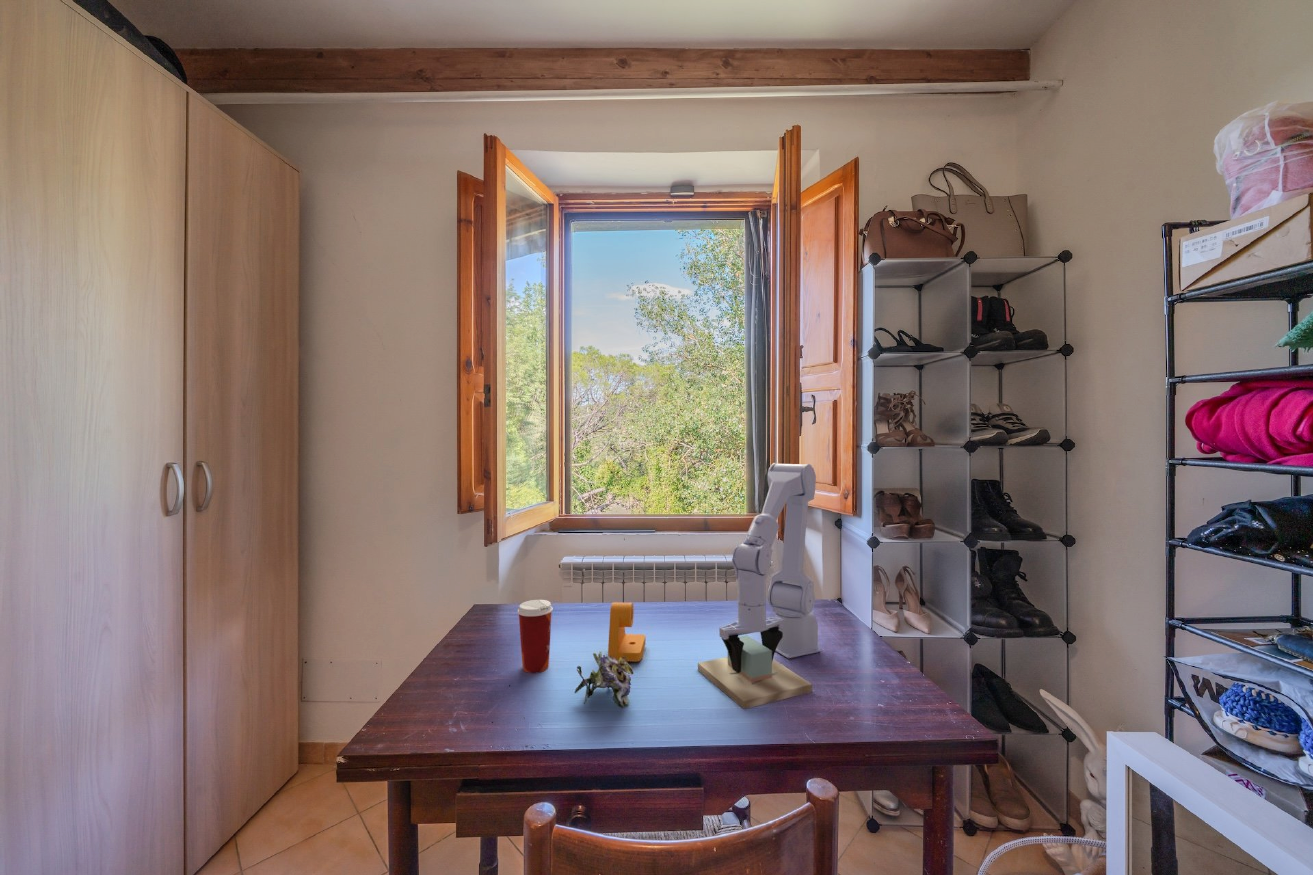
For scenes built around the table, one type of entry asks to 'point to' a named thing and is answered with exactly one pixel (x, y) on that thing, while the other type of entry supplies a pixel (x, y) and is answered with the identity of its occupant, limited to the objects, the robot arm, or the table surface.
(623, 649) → the bracket
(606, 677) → the passion flower
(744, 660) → the block
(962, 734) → the table surface
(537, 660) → the paper cup
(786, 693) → the birch board
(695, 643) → the table surface
